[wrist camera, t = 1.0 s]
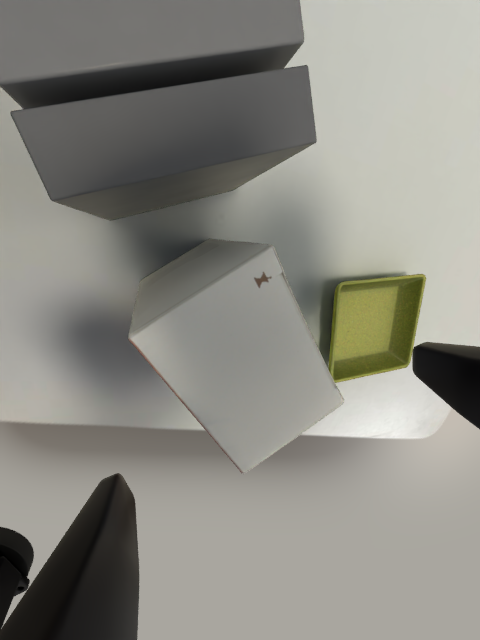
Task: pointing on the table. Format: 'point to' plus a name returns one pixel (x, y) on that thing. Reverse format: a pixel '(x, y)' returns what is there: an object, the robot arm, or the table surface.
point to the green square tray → (374, 325)
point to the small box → (234, 347)
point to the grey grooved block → (154, 96)
